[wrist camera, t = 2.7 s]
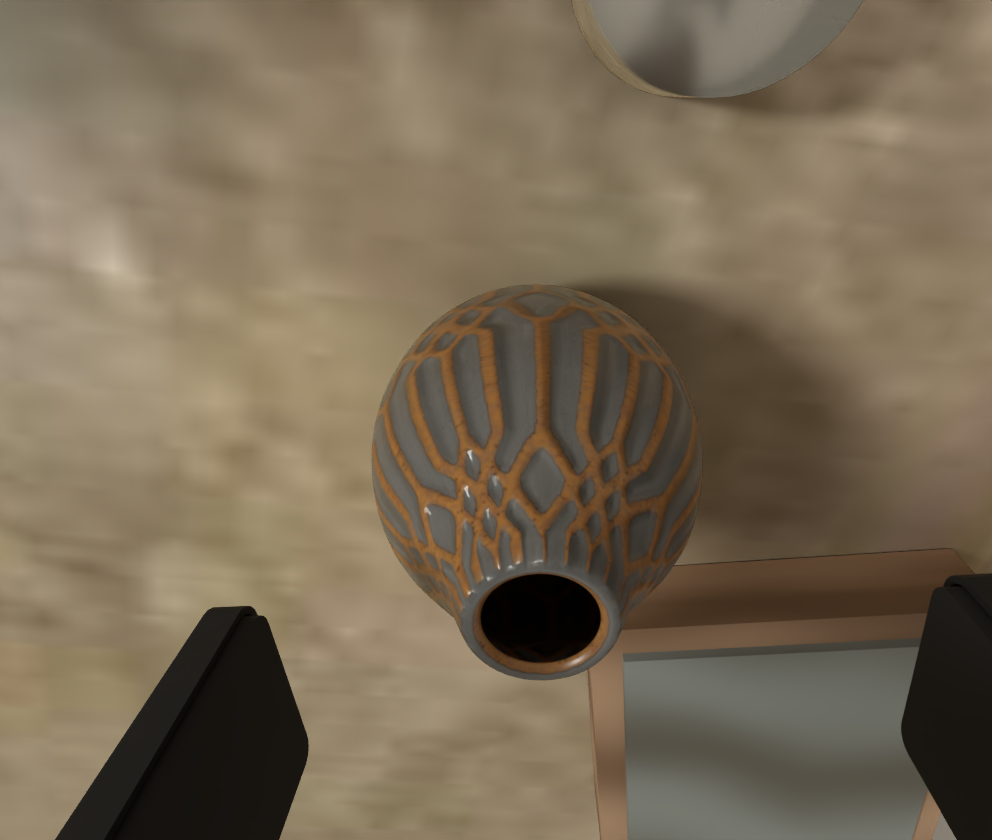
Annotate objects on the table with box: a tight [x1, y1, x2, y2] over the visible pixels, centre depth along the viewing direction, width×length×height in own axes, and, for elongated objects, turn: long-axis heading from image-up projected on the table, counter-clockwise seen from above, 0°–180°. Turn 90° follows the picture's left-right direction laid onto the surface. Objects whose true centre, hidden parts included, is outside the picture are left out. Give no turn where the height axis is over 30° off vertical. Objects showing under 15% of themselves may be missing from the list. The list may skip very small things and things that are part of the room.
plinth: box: [588, 549, 975, 840], centre depth 21 cm, size 11×11×3 cm
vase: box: [372, 285, 703, 680], centre depth 13 cm, size 7×7×9 cm
